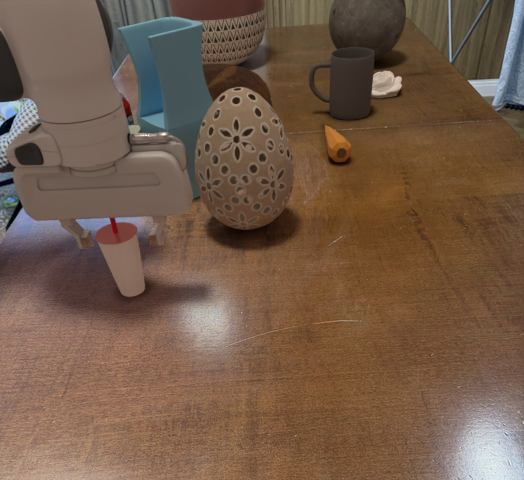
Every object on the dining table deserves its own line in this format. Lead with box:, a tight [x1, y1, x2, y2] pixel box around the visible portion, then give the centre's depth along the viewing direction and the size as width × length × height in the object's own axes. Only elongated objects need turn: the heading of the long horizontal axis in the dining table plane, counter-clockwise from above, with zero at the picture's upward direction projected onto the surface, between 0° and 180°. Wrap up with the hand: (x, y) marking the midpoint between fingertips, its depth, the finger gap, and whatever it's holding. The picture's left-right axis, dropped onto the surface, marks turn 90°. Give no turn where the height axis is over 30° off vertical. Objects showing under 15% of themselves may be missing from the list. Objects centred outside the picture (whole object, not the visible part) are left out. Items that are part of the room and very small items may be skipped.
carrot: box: [324, 124, 352, 163], centre depth 100 cm, size 20×4×4 cm, turn 4°
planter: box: [167, 0, 267, 66], centre depth 138 cm, size 27×27×27 cm
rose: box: [371, 70, 403, 99], centre depth 120 cm, size 10×4×10 cm
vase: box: [117, 16, 220, 200], centre depth 83 cm, size 10×10×25 cm
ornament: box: [195, 87, 295, 231], centre depth 74 cm, size 15×15×20 cm
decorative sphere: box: [328, 0, 407, 62], centre depth 133 cm, size 20×20×20 cm
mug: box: [308, 47, 375, 121], centre depth 109 cm, size 14×9×12 cm
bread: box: [203, 64, 272, 116], centre depth 117 cm, size 28×27×9 cm
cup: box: [94, 218, 146, 298], centre depth 66 cm, size 5×5×12 cm
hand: (122, 244), depth 65 cm, fingers open, 8 cm apart
